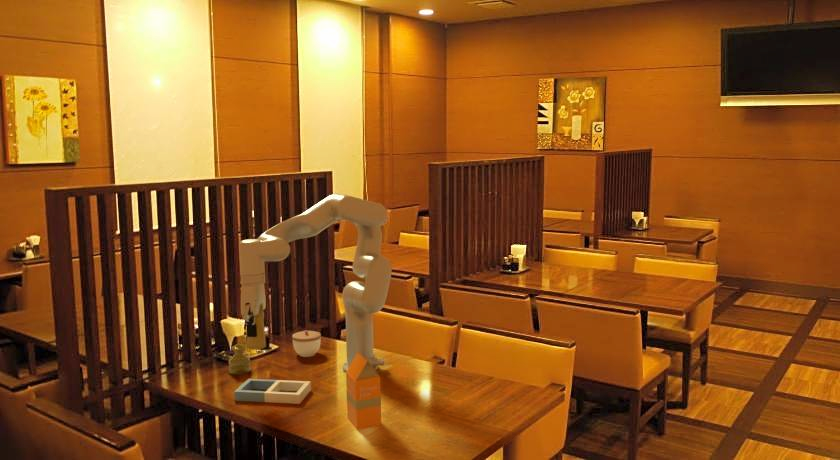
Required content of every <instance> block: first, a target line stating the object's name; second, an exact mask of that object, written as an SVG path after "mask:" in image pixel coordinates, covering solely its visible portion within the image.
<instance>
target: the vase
mask: <svg viewBox="0 0 840 460" xmlns="http://www.w3.org/2000/svg"><path fill="white" fill-rule="evenodd" d="M252 314H253V313H250V314H249V315H252ZM250 318H251V319H252V320H253V317H250ZM255 324H256V325H257V336H256V337H247V336H246V349H247V350H253V351H254V350H261V349H264V348H266V347H267V342H266V332H265V330H264V329H265V318H264V319H263V303H262V304H260V310H259V314H257V315H256V320H255Z"/></svg>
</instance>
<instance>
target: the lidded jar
mask: <svg viewBox="0 0 840 460" xmlns="http://www.w3.org/2000/svg"><path fill="white" fill-rule="evenodd" d="M321 337H322V334H321V332H319V331H315V330H307V329H305V330H301V331H298V332H295V333H293V334H292V335H291V338H292V346H293V349H294V351H295V353H297V354H298V356H299V357H303V358H310V357H314V356H316V353H318V352H319V349H320V347H321V344H322V343H321V342H322V341H321Z"/></svg>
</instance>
